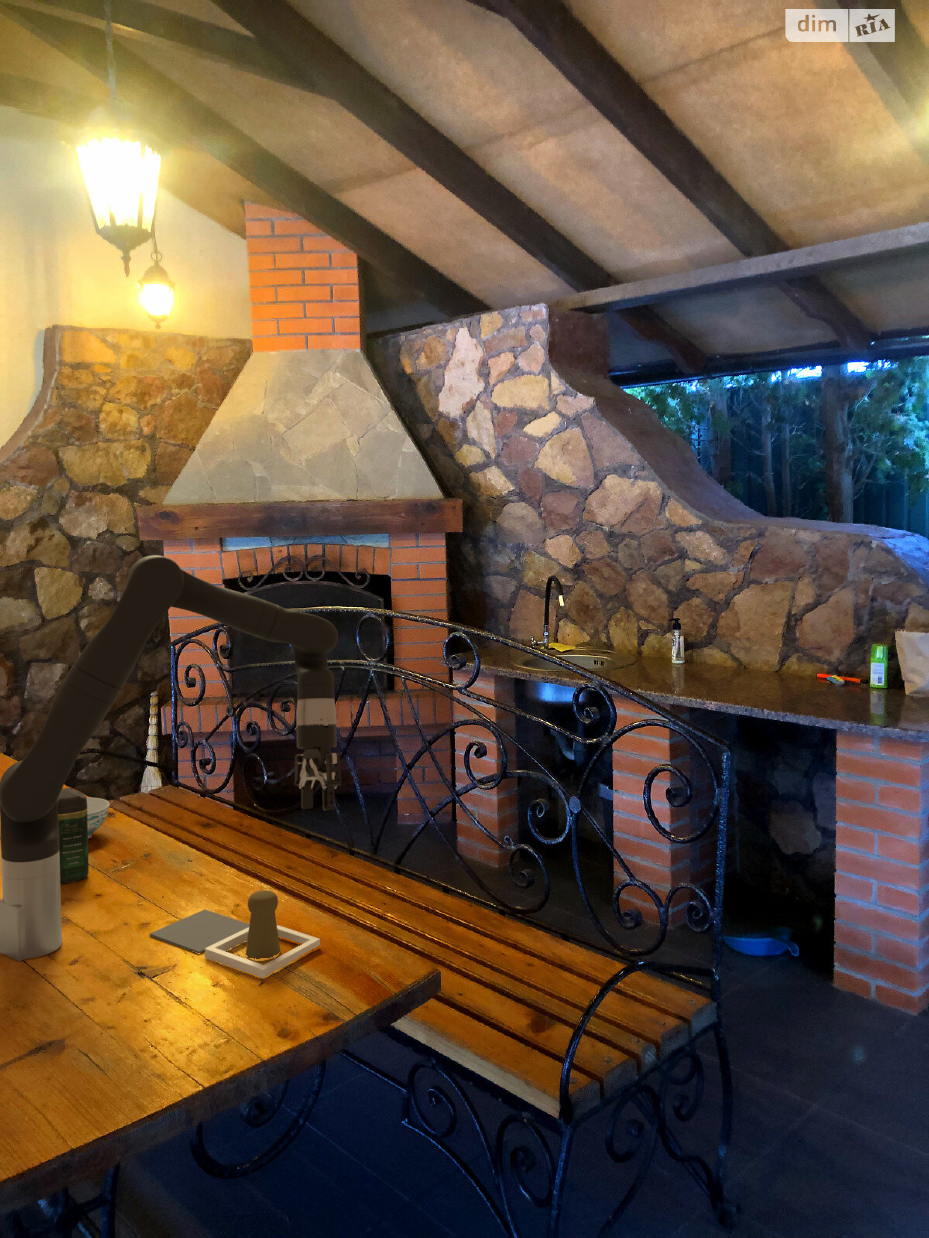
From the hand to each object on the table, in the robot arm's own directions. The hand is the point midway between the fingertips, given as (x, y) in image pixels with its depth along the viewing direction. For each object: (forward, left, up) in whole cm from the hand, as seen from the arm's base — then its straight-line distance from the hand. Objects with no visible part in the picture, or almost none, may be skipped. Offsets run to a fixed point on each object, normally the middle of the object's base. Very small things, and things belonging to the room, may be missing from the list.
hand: (317, 809), depth 174 cm
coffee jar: (-13, +59, -22) cm, 64 cm away
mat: (-16, +14, -22) cm, 30 cm away
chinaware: (+3, +79, -22) cm, 82 cm away
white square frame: (-16, -1, -22) cm, 27 cm away
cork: (-16, -1, -22) cm, 27 cm away
